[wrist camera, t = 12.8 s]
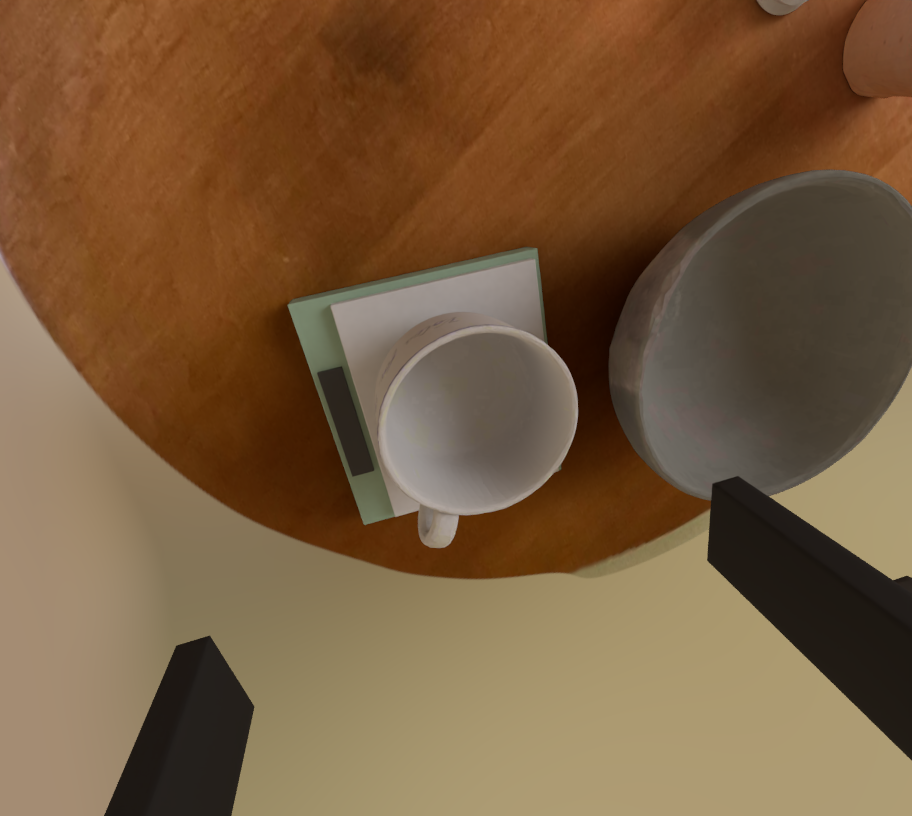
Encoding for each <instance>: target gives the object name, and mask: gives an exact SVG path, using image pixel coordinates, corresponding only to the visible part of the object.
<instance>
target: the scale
mask: <svg viewBox="0 0 912 816" xmlns="http://www.w3.org/2000/svg"><path fill="white" fill-rule="evenodd" d="M288 308H289V311H290V314H291V317H292V320H293V322H294V325H295V328H296V331H297V334H298V337H299V340H300V343H301V345H302V348H303V351H304V354H305V357H306V360H307V363H308V365H309V368H310V371H311V374H312V377H313V380H314V383H315V386H316V388H317V391H318V394H319V397H320V400H321V403H322V406H323V408H324V411H325V414H326V417H327V420H328V423H329V426H330V429H331V431H332V434H333V437H334V440H335V443H336V446H337V449H338V451H339V454H340V457H341V460H342V463H343V466H344V469H345V472H346V474H347V477H348V480H349V483H350V486H351V489H352V492H353V495H354V497H355V500H356V503H357V506H358V509H359V512H360V515H361V517H362V520H363V523H364V525H366V524H370V523H373V522H377V521H380V520H384V519H388V518H391V517H397V516H401V515H404V514H408V513H411V512H415V511H418V510H419V507H420V503H418V502H416V501H414V500H413V499H411V498H410V497H408V496H407V495H405V494H404V493H403V492H402V491H401V490H400V489H399V488H398V487H397V486H396V485H395V483H394V482H393V481H392V479H391V478H390V476H389V474H388V472H387V470H386V468H385V466H384V464H383V462H382V460H381V457H380V453H379V447H378V439H377V424H376V416H375V388H376V382H377V378H378V374H379V371H380V369H381V366H382V363H383V361H384V360H385V358H386V356H387V354H388V353H389V351H390V350H391V348H392V347H393V346H394V344H395V343H396V342H397V341H398V340H399V339H400V338H401V337H402V336H403V335H404V334H405V333H406V332H408V331H409V330H410V329H412V328H413V327H414V326H416V325H418V324H419V323H421V322H423V321H425V320H427V319H429V318H432V317H435V316H438V315H442V314H446V313H454V312H472V313H478V314H483V315H487V316H490V317H493V318H496V319H498V320H501V321H503V322H505V323H507V324H509V325H511V326H513V327H515V328H517V329H520V330H523V331H525V332H528V333H530V334H532V335H534V336H536V337H537V338H539V339H541V340H542V341H544V342H545V343H546V344H547V345H548V342H547V333H546V324H545V315H544V306H543V296H542V287H541V278H540V269H539V260H538V251H537V248H531V247H523V248H519V249H515V250H510V251H506V252H501V253H497V254H492V255H488V256H483V257H479V258H475V259H470V260H466V261H461V262H457V263H452V264H448V265H443V266H439V267H435V268H430V269H426V270H421V271H417V272H412V273H408V274H404V275H399V276H395V277H390V278H386V279H381V280H377V281H372V282H368V283H364V284H359V285H355V286H350V287H346V288H341V289H337V290H332V291H328V292H324V293H319V294H315V295H310V296H306V297H301V298H297V299H293V300H291V302H290V303H289V304H288ZM559 470H561V464H560V466H559V467H558V468H557V469H556V470H555V472H557V471H559Z"/></svg>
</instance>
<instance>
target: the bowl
mask: <svg viewBox="0 0 912 816" xmlns="http://www.w3.org/2000/svg"><path fill="white" fill-rule="evenodd" d="M911 367H912V206H911V205H910V204H909V202H908V201H907V200H906V199H905V198H904V197H903V196H902V195H901V194H900V193H899V192H898V191H897V190H895V189H894V188H892V187H891V186H890V185H888V184H886V183H884V182H882V181H881V180H879V179H877V178H874V177H871V176H869V175H866V174H862V173H857V172H851V171H845V170H813V171H807V172H802V173H797V174H792V175H787V176H783V177H780V178H777V179H773V180H770V181H767V182H764V183H761V184H758V185H755V186H753V187H751V188H748V189H746V190H744V191H742V192H739V193H737V194H735V195H733V196H730V197H729V198H727V199H725V200H723V201H721V202H720V203H718V204H716V205H714V206H713V207H711V208H710V209H708V210H706V211H705V212H703V213H702V214H700V215H699V216H697V217H696V218H694V219H693V220H692V221H691V222H689V223H688V224H687V225H686V226H685V227H683V228H682V229H681V230H680V231H679V232H678V233H677V234H676V235H675V236H674V237H673V238H672V239H671V240H670V241H669V242H668V243H667V244H666V245H665V247H664V248H663V249H662V250H661V251H660V252H659V253H658V255H657V256H656V257H655V258H654V259H653V260H652V262H651V263H650V264H649V265H648V267H647V268H646V269H645V270H644V271H643V273H642V274H641V275H640V277H639V278H638V280H637V281H636V283H635V284H634V286H633V288H632V289H631V291H630V293H629V295H628V297H627V300H626V302H625V305H624V307H623V310H622V312H621V315H620V318H619V320H618V323H617V326H616V329H615V332H614V336H613V339H612V342H611V345H610V348H609V386H610V393H611V398H612V402H613V406H614V409H615V412H616V415H617V417H618V420H619V422H620V424H621V427H622V429H623V431H624V433H625V435H626V436H627V438H628V440H629V442H630V443H631V445H632V447H633V448H634V450H635V451H636V452H637V454H638V455H639V456H640V457H641V458H642V459H643V460H644V461H645V462H646V464H647V465H648V466H649V467H650V468H651V469H652V470H654V471H655V472H656V473H657V474H658V475H659V476H660V477H662V478H663V479H664V480H666V481H667V482H668V483H670V484H671V485H673V486H674V487H676V488H677V489H679V490H681V491H683V492H685V493H687V494H689V495H692V496H695V497H698V498H701V499H705V500H711V496H712V484H713V483H716V482H719V481H723V480H726V479H729V478H733V477H736V476H739V477H741V478H742V479H743V480H745V481H746V482H748V483H749V484H751V485H752V486H754V487H755V488H757V489H758V490H760V491H761V492H763V493H764V494H766V495H767V496H771V495H774V494H777V493H780V492H783V491H785V490H787V489H790V488H793V487H795V486H797V485H799V484H801V483H803V482H805V481H807V480H809V479H811V478H812V477H814V476H816V475H818V474H819V473H821V472H823V471H824V470H826V469H827V468H829V467H830V466H831V465H833V464H834V463H836V462H837V461H838V460H840V459H841V458H842V457H843V456H845V455H846V454H847V453H848V452H850V451H851V450H852V449H853V448H854V447H855V446H856V445H858V444H859V443H860V442H861V441H862V440H863V439H864V438H865V437H866V436H867V434H868V433H869V432H870V431H871V430H872V428H873V427H874V426H875V425H876V424H877V422H878V421H879V420H880V419H881V417H882V416H883V415H884V413H885V412H886V411H887V409H888V408H889V406H890V405H891V403H892V402H893V400H894V399H895V397H896V395H897V394H898V392H899V391H900V389H901V387H902V385H903V383H904V381H905V380H906V377H907V375H908V373H909V371H910V369H911Z"/></svg>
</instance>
